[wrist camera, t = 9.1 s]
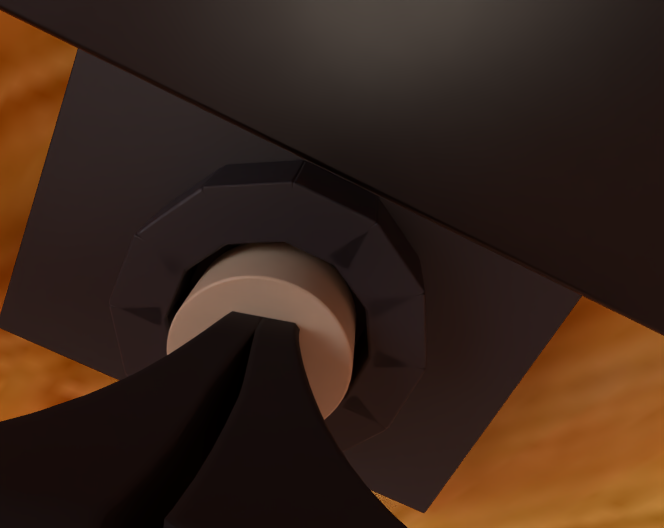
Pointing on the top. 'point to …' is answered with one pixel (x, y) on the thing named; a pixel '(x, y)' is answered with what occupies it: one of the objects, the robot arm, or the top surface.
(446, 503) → the top surface
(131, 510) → the robot arm
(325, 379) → the button
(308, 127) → the box lid
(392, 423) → the switch block
